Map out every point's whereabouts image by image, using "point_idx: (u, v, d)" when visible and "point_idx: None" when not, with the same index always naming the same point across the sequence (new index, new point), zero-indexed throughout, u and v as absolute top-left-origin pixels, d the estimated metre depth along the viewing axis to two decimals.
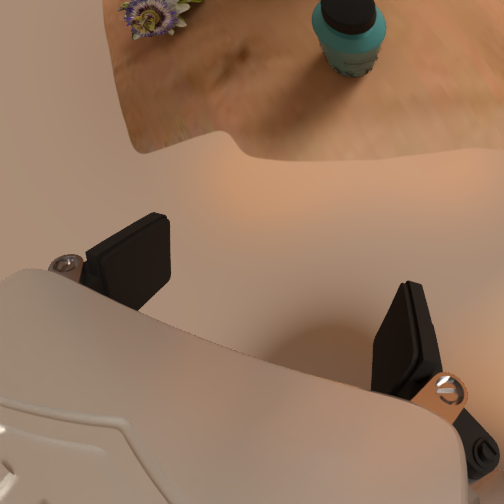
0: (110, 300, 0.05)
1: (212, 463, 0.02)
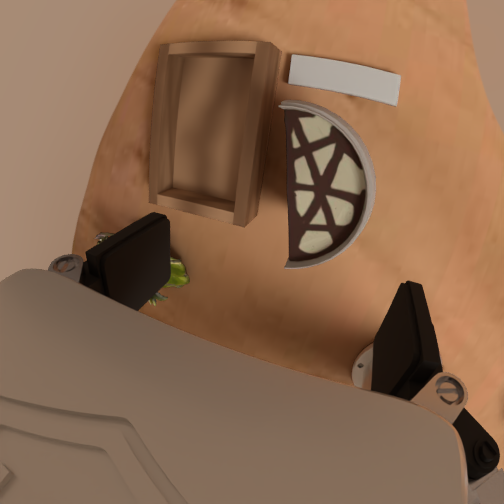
0: (110, 300, 0.05)
1: (212, 463, 0.02)
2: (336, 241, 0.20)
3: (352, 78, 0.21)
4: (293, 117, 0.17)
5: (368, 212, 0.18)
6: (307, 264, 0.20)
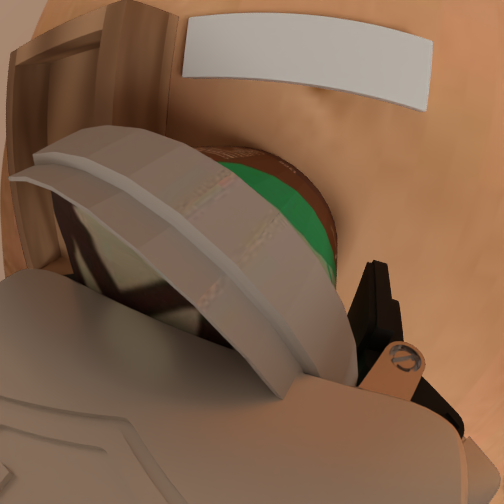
0: (110, 300, 0.05)
1: (212, 463, 0.02)
2: None
3: (318, 48, 0.09)
4: (63, 203, 0.04)
5: None
6: None
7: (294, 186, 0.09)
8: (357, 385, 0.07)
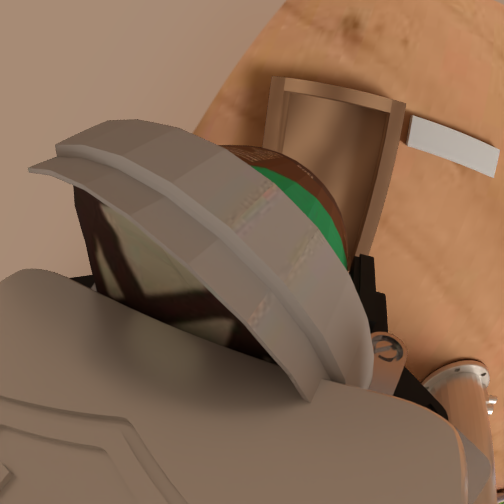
0: (110, 300, 0.05)
1: (212, 463, 0.02)
2: None
3: (463, 149, 0.20)
4: (88, 200, 0.04)
5: None
6: None
7: (314, 193, 0.09)
8: None
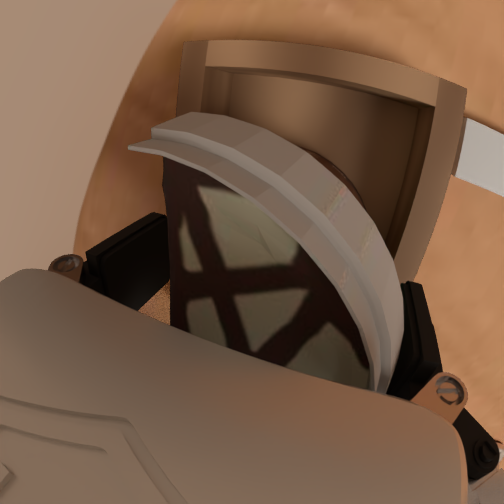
0: (110, 300, 0.05)
1: (212, 463, 0.02)
2: None
3: None
4: (183, 181, 0.05)
5: None
6: None
7: None
8: None
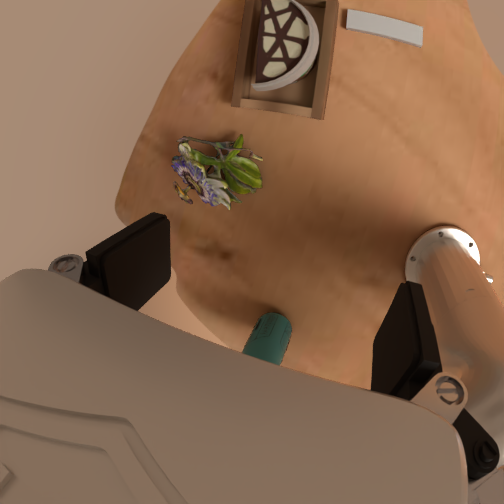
0: (110, 300, 0.05)
1: (212, 463, 0.02)
2: (289, 68, 0.24)
3: (390, 27, 0.24)
4: None
5: (311, 49, 0.22)
6: (267, 82, 0.25)
7: None
8: None
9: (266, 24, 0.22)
